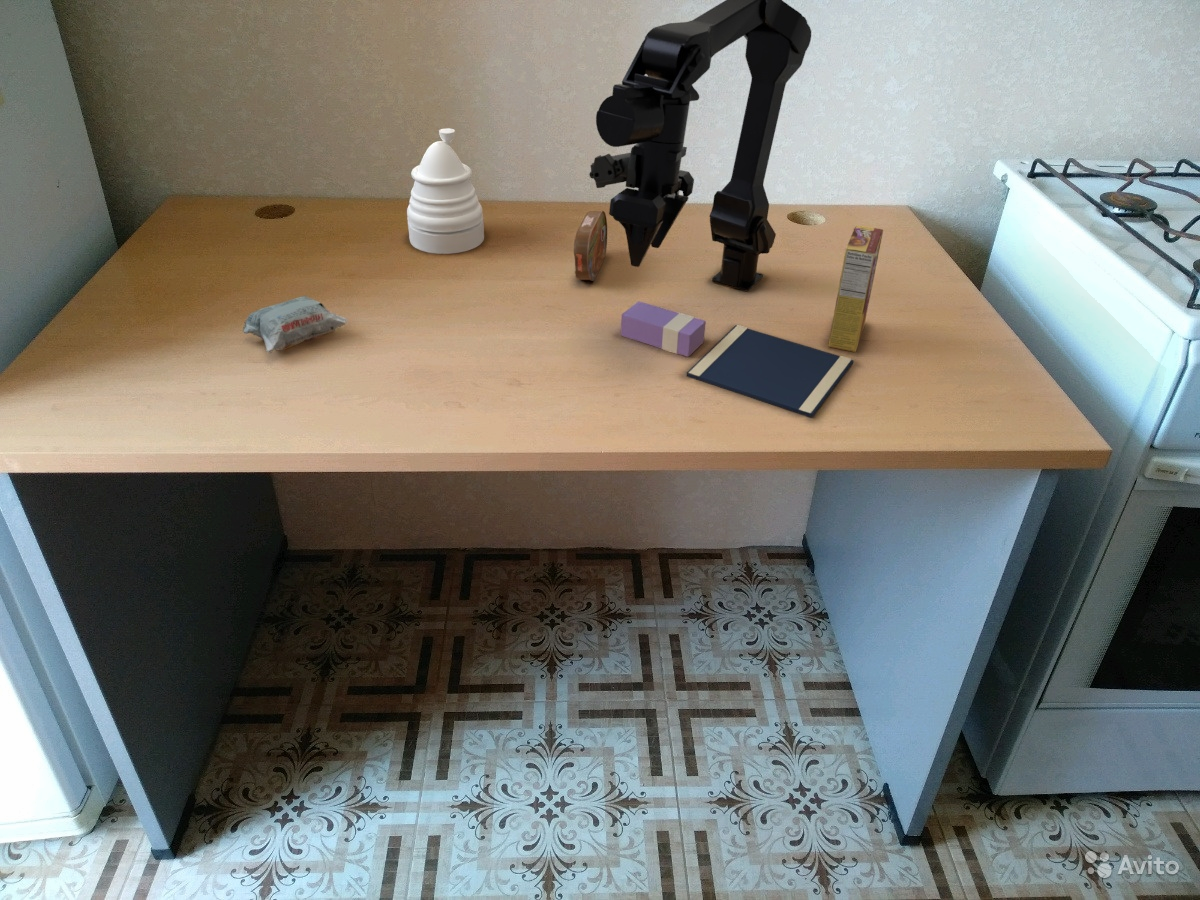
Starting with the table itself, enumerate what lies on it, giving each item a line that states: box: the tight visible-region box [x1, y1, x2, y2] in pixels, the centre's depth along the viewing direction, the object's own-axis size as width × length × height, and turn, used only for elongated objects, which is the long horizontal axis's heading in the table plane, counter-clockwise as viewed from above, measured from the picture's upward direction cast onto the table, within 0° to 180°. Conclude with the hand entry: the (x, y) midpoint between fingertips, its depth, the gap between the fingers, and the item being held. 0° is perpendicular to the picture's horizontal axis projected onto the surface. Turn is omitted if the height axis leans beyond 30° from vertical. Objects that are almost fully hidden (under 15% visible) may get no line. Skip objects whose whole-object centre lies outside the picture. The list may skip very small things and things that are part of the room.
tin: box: [573, 210, 608, 282], centre depth 144 cm, size 15×3×8 cm, turn 168°
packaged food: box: [242, 295, 348, 354], centre depth 124 cm, size 9×12×5 cm
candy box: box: [827, 225, 884, 353], centre depth 126 cm, size 9×4×15 cm, turn 158°
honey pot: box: [406, 127, 485, 255], centre depth 149 cm, size 13×13×18 cm
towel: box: [686, 324, 854, 419], centre depth 122 cm, size 16×18×1 cm
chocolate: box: [620, 301, 707, 358], centre depth 127 cm, size 5×11×4 cm, turn 58°
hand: (645, 256), depth 121 cm, fingers open, 9 cm apart
